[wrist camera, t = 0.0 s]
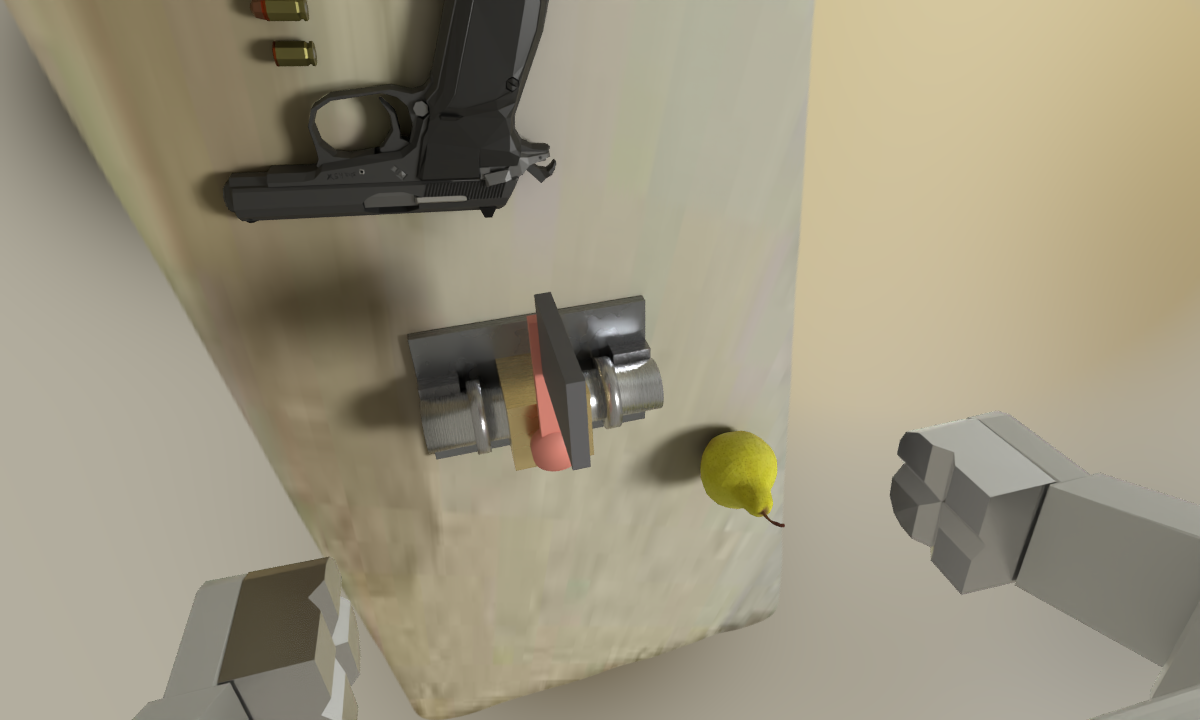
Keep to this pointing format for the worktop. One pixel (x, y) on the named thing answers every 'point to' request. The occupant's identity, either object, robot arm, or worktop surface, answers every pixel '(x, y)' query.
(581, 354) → the valve
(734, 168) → the worktop surface
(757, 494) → the fruit
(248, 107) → the worktop surface
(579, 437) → the lever
